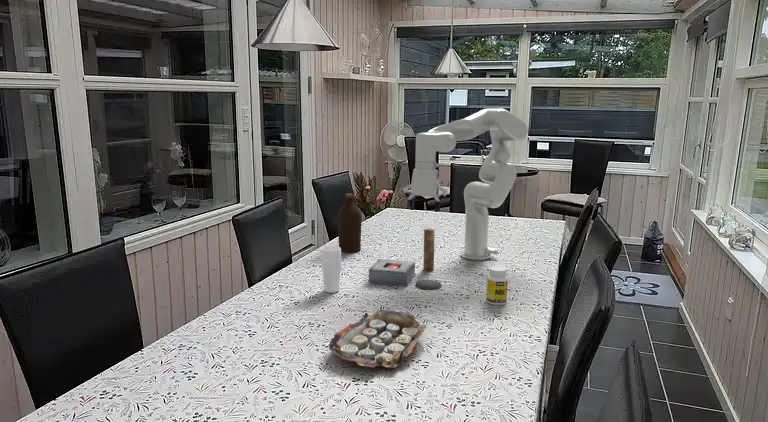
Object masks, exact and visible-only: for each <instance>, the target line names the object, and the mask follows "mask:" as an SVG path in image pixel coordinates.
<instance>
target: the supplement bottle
mask: <svg viewBox="0 0 768 422" xmlns="http://www.w3.org/2000/svg"><path fill="white" fill-rule="evenodd" d="M507 271H508V270H507V268H506V267H504V266H498V265H497V266H496V265H494V266H490V267H489V273H488V276H487V280H486V281H487V283H486V296H485V297H486V298H485V299H486V302H487V303H488V304H491V305H494V306H502V305H506V304H507V301H508V300H507V298H508V297H507V296H508V281H509V279H508V277H507Z"/></svg>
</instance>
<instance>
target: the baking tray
mask: <svg viewBox="0 0 768 422" xmlns="http://www.w3.org/2000/svg"><path fill="white" fill-rule="evenodd" d="M425 329H427V325H426V324H425V323H422V324H420V323H419V322H418V321H417V319H416V318H415V316H414V315H413V314H410V313H409V312H407V311H402V310H400V309H393V308H390V309H389V308H388V309H379V310H377V311H374V312H371V311H370V312H365V313H364V315H362V318H360V320H359V321H357V322H354V323H352V324H351V323H350V324H349V325H346V327H344V328H343V329H340V331H337V332H336V333H335V334H334V336H333V337H332V338H331V339H330V341H329V346H328V348H329V351H330V352H331V353H333V354H334V355H335V356H337V357H338V358H339V359H342V360H344V361H347V362H354V363H356V364H357V365H358V366H363V367H369V368H376V367H384V368H386V369H391V368H394V369H395V368H397V367H398V366H399V365H401V364H402V363H403V362H404V360H405V359H406V357H408V356H410V353H412V351H413V350H414V347H415V346H416V343H417V342H418V340H419V339H420V336H422V335H423V334H422V333H424V331H425ZM387 345H388V346H387ZM385 346H387V348H386V347H385ZM385 348H386V352H384V351H385ZM376 354H377V355H376Z"/></svg>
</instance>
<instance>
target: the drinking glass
mask: <svg viewBox="0 0 768 422" xmlns="http://www.w3.org/2000/svg"><path fill="white" fill-rule="evenodd" d="M320 261H321V263H320V264H321V272H322V279H323V291H324V292H325V293H329V294H333V293H337V292H339V291H340V289H341V287H340V284H341V283H340V282H341V270H342V269H341V268H342V252H341V248H340V247H339V246H338V245H337V246H336V245H328V246H323V247H321V250H320Z"/></svg>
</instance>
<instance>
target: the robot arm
mask: <svg viewBox="0 0 768 422" xmlns="http://www.w3.org/2000/svg"><path fill="white" fill-rule="evenodd" d="M488 131H489V135H490V139H491V149H490V152H489V153H488V155H487V157H486V158H485V161H484V162H483V164H482V165H481V167H480V169H479V171H478V178H479V179H480V180H481V181H471V182H469V183H468V184H466V186H465V187H464V189H463V198H464V207H465V224H464V226H465V227H464V248H463V249H464V250H463V251H460V257H461V258H463V259H466V260H473V261H484V260H489V259H490V258H491V257H492V254H493V255H499V249H496V248H490V247H489V244H488V239H489V222H490V221H489V220H490V218H489V217H490V216H489V215H490V214H489V210H488V208H491V209H496V208H499V207H501V205H502V204H503V203H504V202H505V200H506V198H507V196H508V195H509V193H510V191H511V189H512V188H513V186H514V184H515V182H516V179H517V175H518V174H517V168H516V167H515V165H514V164H513V163H511V162H509V161H510V159H511V153H512V151H511V147H510V144H509V142H521V141H524V140H525V139H526V138H527V136H528V131H529V129H528V125H527V124H526V122H525V121H523V120H522V119H521V118H519V117H518V116H517V115H515V114H514V113H512V112H510V111H508V110H507V109H504V108H483V109H481V110H479V111H477V112H474V113H472V114H471V115H468V116H467V117H464V118H461V119H458V120H454V121H451V122H448V123H444V124H441V125H439V126H436V127H433V128H432V129H430V130H428V131H426V132H419V133H416V136H415V160H414V161H415V162H414V163H415V165H414V167H415V168H414V169H413V171H412V177H411V183H410V184H408V185H406V186H404V187H402V191H403V193H404V196H405V197H406V198H407V199H408V200H409V201H408V204H409V205H408V207H409V210H410V211H413V210H415V197H416V196H420V197H421V196H422V197H433V198H434V199H435V202H434V212H435V213H437V212H439V210H440V208H441V200H443V199H444V198H445V197H446V195H447V193H448V189H447V188H445V187H443V186H441V185H440V180H439V179H440V178H439V171H438V169H436V168H439V167H440V163H437V161H436V156H437V155H436V154H437V152H441V153H449V152H452V151H453V150H454V149H455V148H456V146H457V142H459V141H460V142H461V141H468V140H471V139H474V138H476V137H477V136H479V135H481V134H484V133H486V132H488ZM409 189H410V192H411V193H410V192H409ZM440 192H442V193H441V195H439V193H440Z"/></svg>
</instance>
